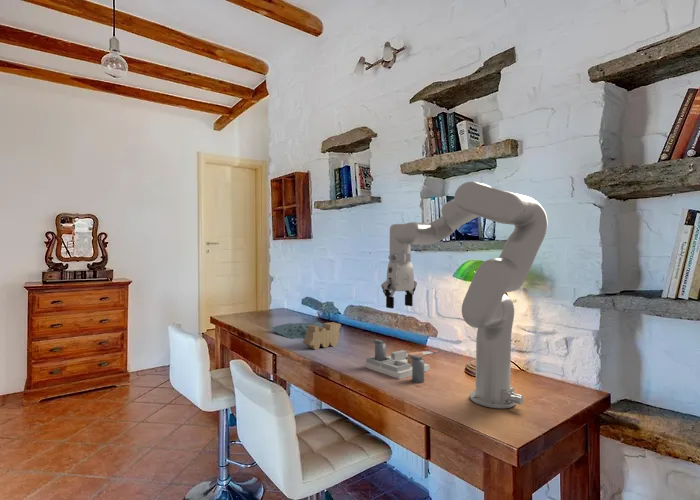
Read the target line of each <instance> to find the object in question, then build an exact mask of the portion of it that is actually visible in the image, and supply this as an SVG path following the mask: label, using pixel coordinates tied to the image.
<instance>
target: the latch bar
mask: <svg viewBox="0 0 700 500" xmlns="http://www.w3.org/2000/svg"><path fill="white" fill-rule="evenodd" d="M422 352H423V351H418V350H417V351H414V352H408V353H409V354H408V356H407V363H409V364H411V366H412V359H410V356H411V355H416V356H420V357H422V359H424V358H423V356H424V355H423V353H422Z"/></svg>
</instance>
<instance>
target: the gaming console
mask: <svg viewBox="0 0 700 500" xmlns="http://www.w3.org/2000/svg"><path fill="white" fill-rule="evenodd" d="M417 349H420V350H423V351H421V352H422V353H423V356H425V355H426V356H427V355H434V354H438V353H441V351H440V350H437V349H436V350H435V349H434V350H433V349H432V350H431V348H430V347H428V348H427V347H425V348H416V350H417ZM410 350H411V351H412V350H413V349H410ZM404 351H406V357H407V356H408V354H409V353H410V352H407V349H406V350H405V349H404Z"/></svg>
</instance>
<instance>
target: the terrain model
mask: <svg viewBox="0 0 700 500" xmlns="http://www.w3.org/2000/svg"><path fill="white" fill-rule="evenodd" d="M308 325H314V326H318V327H322V328H323V323H321V322H319V321H314V322H306V323H303V322H296V323H290V322H289V323H285V324H284V323H282V324H280V325H276V326H270V327H269V328H270V329H271V330H272V331H274V332H275V333H277V334H278V335H282V336H283V337H285V338H287V339H290V340H293V339H301V340H302V339H303V340H304V338H305V337H306V331H307V330H308Z"/></svg>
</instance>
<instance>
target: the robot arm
mask: <svg viewBox="0 0 700 500" xmlns="http://www.w3.org/2000/svg"><path fill="white" fill-rule="evenodd" d="M479 217H481V218H484V219H485V220H489V221H492V222H496V223H498V224H503V225H512V226H514V229H513V231H512V233H510V235H509V236H508V238H507V240H506V241H505V244H504V246H503V249H502V251H501V253H500V255H499V256H498V257H496V258H495V257H494V258H489V259H486V260H485V261H483V262H482V263H481V264H480V265H479V266H478V268H477V269H476V271H475V273H474V275H473V278H472V280H471V282H470V284H469V287H468V289H467V291H466V293H465V296H464V298H463V300H462V301H463V302H462V304H461V315H462V319H463V320H464V322H465V324H467V325H468V326H469V327H471V328H474V329H477V332H476V338H475V339H476V340H475V341H476V342H475V346H476V347H475V390H472V391H471V392H470V393H469V399H470V400H471V401H472V402H474V403H475V404H477V405H480V406H482V407H487V408H490V409H491V408H492V409H510V408H514V407H515V406H516V405H517V404H518V405H520V406H521V405H523V403H524V396H523V395H522V394H519V393H515V388H514V387H513V386H511V370H512V369H511V367H512V366H511V363H512V361H511V360H512V359H511V357H512V352H511V351H512V332H513V330H512V329H513V325H514V318H515V307H514V306H515V305H514V303H513V301H512V299H511V297H509V296H508V295H507V294H506V293H511V292H516V291H518V290H519V289H520V288H521V287H522V286H523V285H524V284H525V281H526V279H527V276H528V274H529V272H530V269H532V266H533V264H534V262H535V259H536V256H537V254H538V252H539V251H540V250H539V249H541V248H540V247H541V246H542V243H543V242H544V239H545V238H546V234H547V229H548V225H549V221H548V216H547V213H546V210H545V209H544V208H543V206H542V205H541V204H540V203H539V202H538V200H535V199H534V198H533V197H531V196H527V195H525V194H524V195H523V194H519V193H516V192H515V193H514V192H511V191H506V190H504V189H499V188H495V187H492V186H490V185H488V184H486V183H481V182H477V181H466V182H464V183H462V184H461V185H459V186H458V188H456V191H455V192H454V197H453V199H451V200H449V201H447V202H446V203H444V204H443V205H442V207H441V216H440V217H439V218H436V219H435V220H433V221H431V222H429V223H426V222H414V221H413V222H407V223H395V224H391V225H390V227H389V255H388V259H389V262H388V263H387V270H386V280H385V281H384V282H382V283H381V284H380V286H381V289H382V293H383V294H384V297H385V307H386V308H387V309H395V297H394V294H396V293H395V292H405V294H404V306H407V307H413V303H414V302H413V296H414V294H415V291H416V288H417V286H418V282H417V281H416V280H415V276H414V268H413V263H412V262H411V258H412V257H411V256H412V251H411V250H412V249H411V248H412V247H411V246H412V245H417V246H418V245H423V246H428V245H433V244H436V243H438V242H441V241H442V240H444V239H446V238H448V237H450V236H451V235H452V234H454V232H455V231H456V230H457V228H459V227H462V226H464V225H466V223H468V222H471V221H473V220H474V219H477V218H479Z"/></svg>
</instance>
